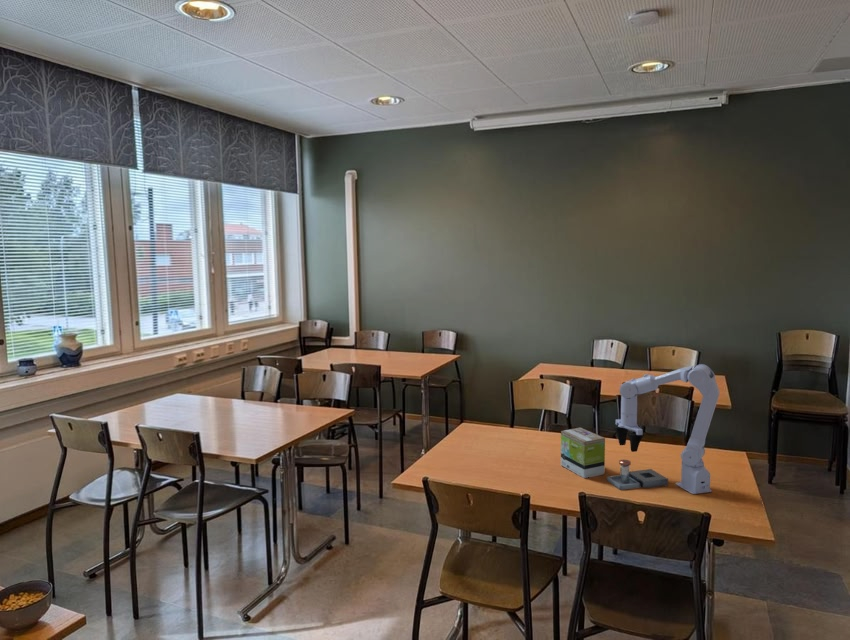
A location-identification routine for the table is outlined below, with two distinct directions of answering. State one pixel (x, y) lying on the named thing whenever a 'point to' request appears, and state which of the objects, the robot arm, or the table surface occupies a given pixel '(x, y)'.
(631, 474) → the hitch block
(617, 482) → the tray
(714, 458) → the table surface
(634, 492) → the table surface
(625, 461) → the pin
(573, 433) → the tea box
